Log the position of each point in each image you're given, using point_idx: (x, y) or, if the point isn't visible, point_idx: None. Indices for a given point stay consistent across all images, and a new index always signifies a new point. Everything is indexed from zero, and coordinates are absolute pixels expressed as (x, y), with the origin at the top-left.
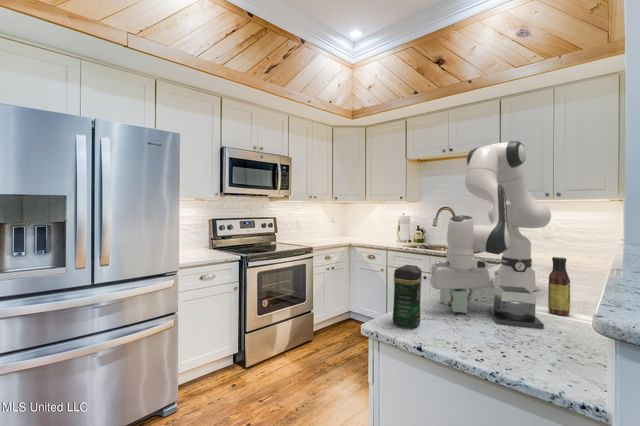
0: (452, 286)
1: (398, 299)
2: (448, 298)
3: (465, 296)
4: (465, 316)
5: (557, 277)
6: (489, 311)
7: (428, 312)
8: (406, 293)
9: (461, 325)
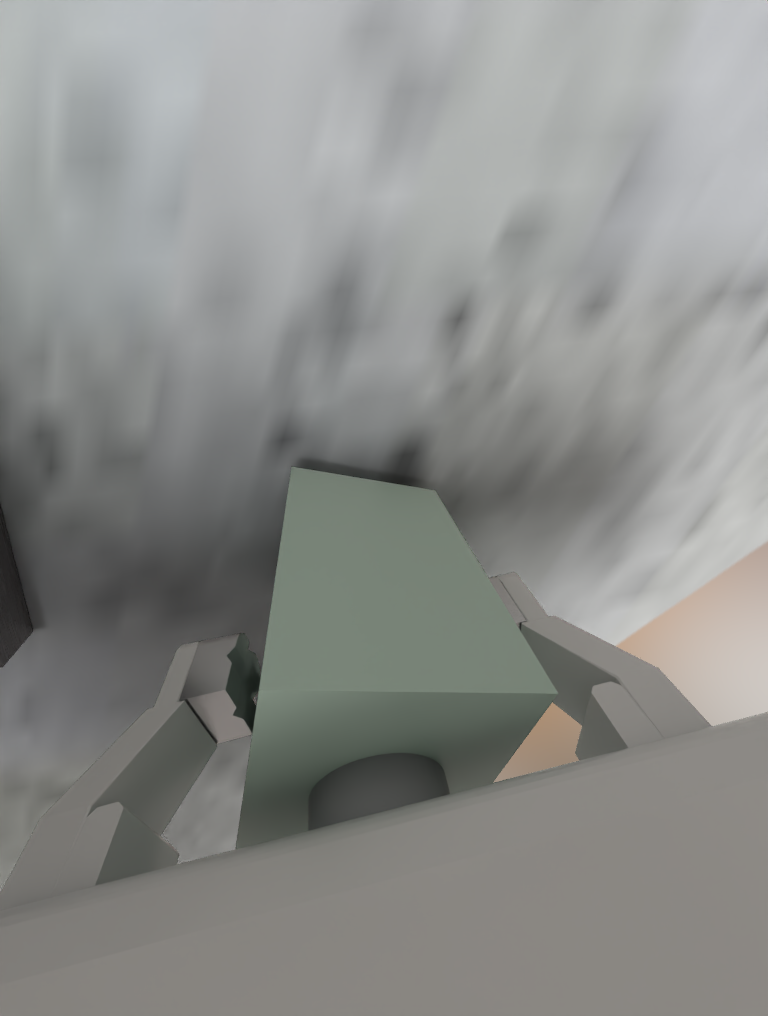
0: (684, 823)
1: None
2: (531, 603)
3: (308, 612)
4: (316, 428)
5: None
6: (8, 583)
7: (623, 493)
8: None
9: (509, 11)
